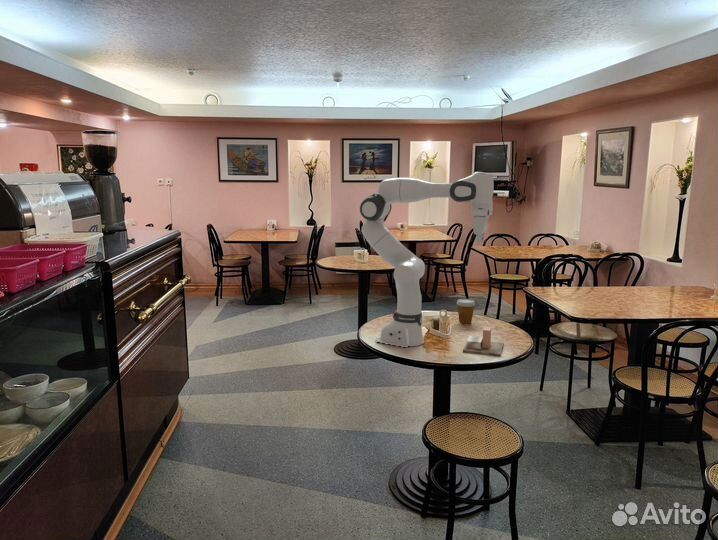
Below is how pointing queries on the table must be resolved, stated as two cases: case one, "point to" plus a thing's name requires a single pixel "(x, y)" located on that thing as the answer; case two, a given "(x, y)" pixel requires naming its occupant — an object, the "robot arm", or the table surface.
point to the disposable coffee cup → (465, 310)
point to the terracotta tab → (486, 337)
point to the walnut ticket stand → (476, 347)
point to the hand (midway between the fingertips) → (480, 243)
